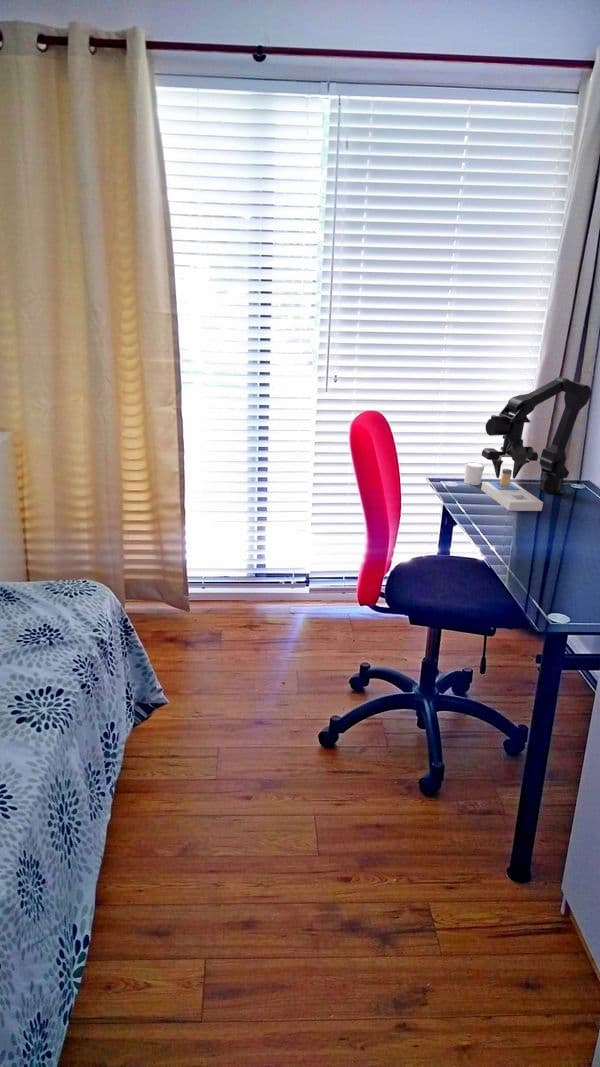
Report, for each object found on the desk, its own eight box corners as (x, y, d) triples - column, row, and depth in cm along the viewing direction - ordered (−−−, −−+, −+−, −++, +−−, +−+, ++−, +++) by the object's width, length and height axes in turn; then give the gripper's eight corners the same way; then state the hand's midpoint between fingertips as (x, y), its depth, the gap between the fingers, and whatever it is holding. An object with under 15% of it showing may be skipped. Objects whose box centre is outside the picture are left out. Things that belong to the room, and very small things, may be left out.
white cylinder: (458, 480, 287) (461, 462, 285) (473, 479, 290) (476, 461, 288) (470, 486, 282) (473, 467, 279) (485, 485, 284) (488, 466, 282)
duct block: (511, 489, 281) (513, 481, 280) (541, 510, 261) (543, 501, 260) (481, 489, 279) (482, 480, 277) (508, 510, 259) (510, 501, 258)
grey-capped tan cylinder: (504, 492, 277) (509, 468, 274) (508, 495, 274) (513, 471, 271) (496, 492, 277) (500, 468, 273) (500, 495, 274) (505, 471, 270)
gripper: (498, 440, 258) (491, 485, 264) (549, 441, 262) (541, 485, 268) (484, 431, 268) (477, 475, 274) (533, 433, 272) (525, 475, 278)
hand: (505, 478), depth 273 cm, fingers open, 6 cm apart
